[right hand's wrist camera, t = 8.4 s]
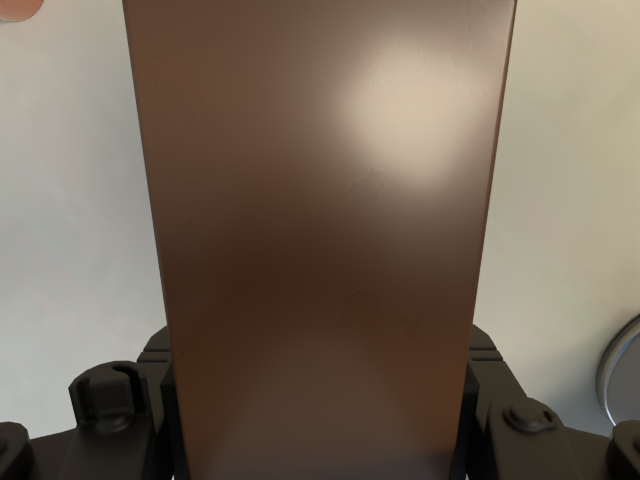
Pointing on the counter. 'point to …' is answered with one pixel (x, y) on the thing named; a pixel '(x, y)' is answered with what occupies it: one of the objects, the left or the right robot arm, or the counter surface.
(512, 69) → the counter surface
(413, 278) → the bar
